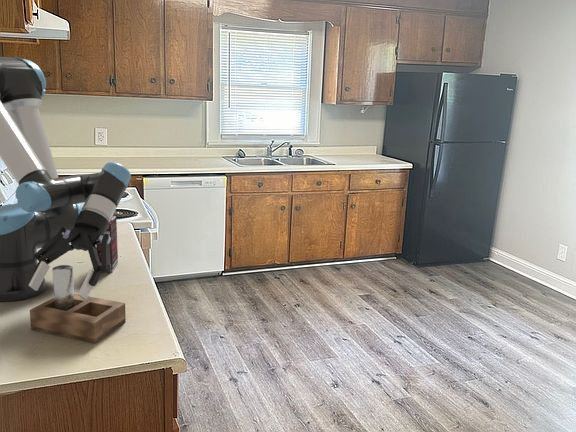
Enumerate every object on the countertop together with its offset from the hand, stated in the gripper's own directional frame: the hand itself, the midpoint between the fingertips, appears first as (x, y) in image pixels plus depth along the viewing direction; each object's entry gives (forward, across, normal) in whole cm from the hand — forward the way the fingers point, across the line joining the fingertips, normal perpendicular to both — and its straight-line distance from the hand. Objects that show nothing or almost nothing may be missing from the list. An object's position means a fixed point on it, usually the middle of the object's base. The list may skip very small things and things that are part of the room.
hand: (56, 292), depth 122 cm
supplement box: (-22, +14, -34) cm, 43 cm away
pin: (+4, 0, -7) cm, 8 cm away
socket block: (+4, -4, -8) cm, 10 cm away
